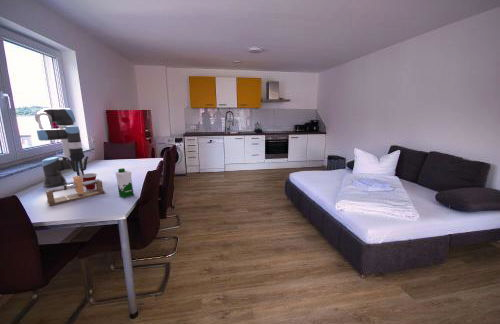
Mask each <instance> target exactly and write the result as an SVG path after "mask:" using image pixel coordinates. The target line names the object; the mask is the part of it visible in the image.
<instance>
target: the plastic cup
mask: <svg viewBox="0 0 500 324" xmlns="http://www.w3.org/2000/svg"><path fill="white" fill-rule="evenodd" d="M97 175H98V174H97V173H92V172H90V173H84V175H82V176H83V180H82V182H86V181H91V180H96V177H97ZM84 187H85V190H86V191H90V190H94V189H96V184H92V185H87V186H84Z"/></svg>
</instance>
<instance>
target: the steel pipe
mask: <svg viewBox="0 0 500 324" xmlns="http://www.w3.org/2000/svg"><path fill="white" fill-rule="evenodd" d="M99 180H100V179H99V178H97V179H96V180H91V181H86V182H83V181H82V183H83V187H85V186H87V185H92V184H95V185H96V184H97V182H99ZM75 188H77V184H74V183H72V184H65V185H64V184H63V185H59V186H54V187H49V188H48V190H49V191H53V193H57V192H62V191H68V190H71V189H75Z"/></svg>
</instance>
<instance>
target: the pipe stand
mask: <svg viewBox="0 0 500 324" xmlns="http://www.w3.org/2000/svg"><path fill="white" fill-rule="evenodd" d="M45 194H46V199H47V200H46V201H47V203H48V205H49V206H50V207H53V206H57V205H63V204H65V203H69V202H75V201H78V200H79V201H80V200H83V199H88V198H91V197H96V196H100V195H104V194H106V192H105V191H104V186H103V181H102V180H100V179H99V182H97V184H95V189H92V190H86V191H85V190H84V194H78V193H77V192H76V193H72V194H67V195H63V196H59V197H55V196H54V192H53V191H49V189H46V190H45Z"/></svg>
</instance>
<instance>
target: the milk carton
mask: <svg viewBox="0 0 500 324" xmlns="http://www.w3.org/2000/svg"><path fill="white" fill-rule="evenodd" d="M115 177H116V181H117V182H116V183H117V191H118V195H119V197H121V198H124V199H126V198H128V197H132V196H134V195H135V194H134V188H133V181H132V171H129V170H125V168H119V169H118V171H117V172H115Z"/></svg>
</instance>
